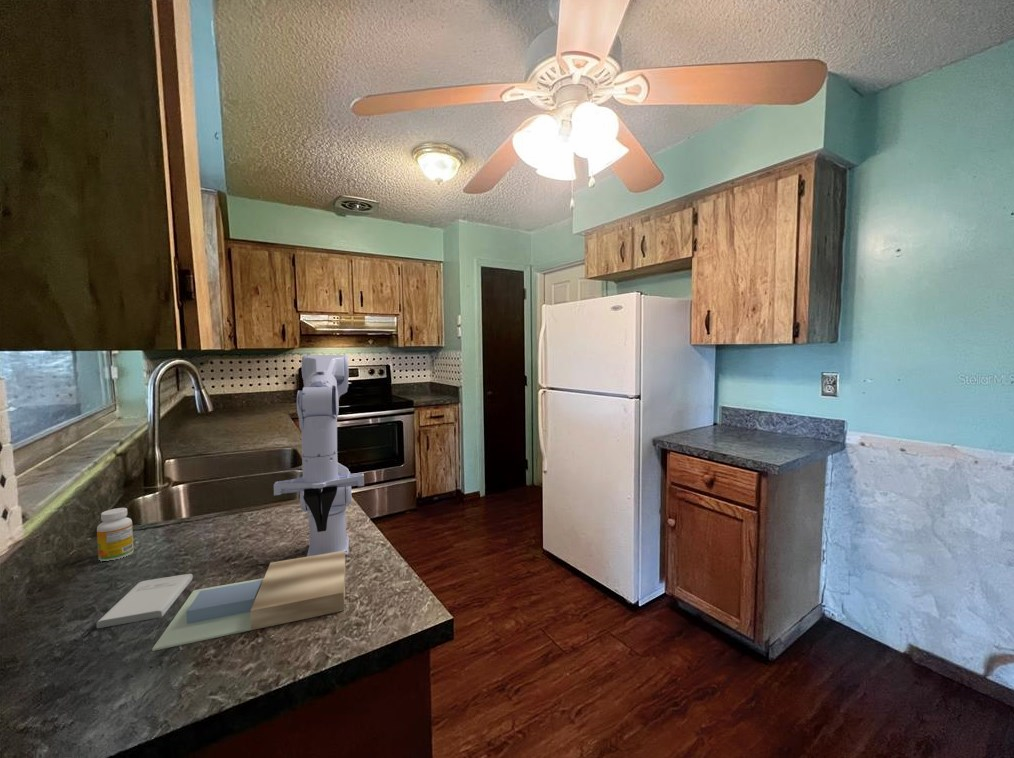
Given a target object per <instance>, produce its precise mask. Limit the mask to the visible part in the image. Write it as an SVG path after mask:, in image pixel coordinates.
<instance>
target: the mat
mask: <svg viewBox="0 0 1014 758" xmlns="http://www.w3.org/2000/svg"><path fill="white" fill-rule="evenodd" d="M263 579H264V577H261V578H258V579H257V578H256V579H251V580H246V581H245V580H244V581H238V582H235V583H228V584H223V585H217V586H210V587H205V588H199V589H193V590H192V591H191V593H190V595H188V598H187V599H185V600H186V601H185V602H184V603H183V605H182V606H181V608H180V609H179V610H178V612H177V613H176V614H175V616H174V617H173V619H172V620H171V621H170V623H169V624H168V626H167V627H166V628H165V630H164V631H163V633H162V635H161V636H160V637H159V639H158V640H157V641H156V643H155V644H154V645H153V647H152V650H151V651H152V652H154V651H158V650H160V651H161V650H164V649H168V648H172V647H178V646H183V645H187V644H192V643H197V642H202V641H207V640H212V639H215V638H221V637H224V636H229V635H234V634H235V635H236V634H238V633H239V634H240V633H244V632H249V631H252V630H251V612H246V613H241V614H236V615H231V616H226V617H221V618H215V619H210V620H205V621H200V622H195V623H190V624H187V610H188V608H189V607H190V605H191V604H192V603H193V601H194V600H195V598H196V597H197V595H198V594H199V592H200V591H204V590H209V589H215V588H221V587H227V586H232V585H238V584H244V583H250V582H256V581H261V580H262V582H263Z"/></svg>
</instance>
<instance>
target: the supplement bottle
mask: <svg viewBox="0 0 1014 758" xmlns="http://www.w3.org/2000/svg"><path fill="white" fill-rule="evenodd" d="M128 514H129V513H128V508H127V507H118V508H113V509H112V508H111V509H108V510H105V511H102V512H101V513H100V521H102V522H100V523H99V524H98V525H97V527H96V541H97V542H96V543H97V556H98V561H99V560H100V561H99V562H102V561H109V560H114V561H116V560H115V559H118V560H121V559H124V558H126V556H127V557H129V556H131V555H132V554H133V553H134V535H133V532H134V531H133V521H132V518H131V517H127V516H128ZM128 555H129V556H128ZM123 557H124V558H123ZM120 558H121V559H120ZM109 562H110V561H109Z"/></svg>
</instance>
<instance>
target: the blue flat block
mask: <svg viewBox="0 0 1014 758" xmlns="http://www.w3.org/2000/svg"><path fill="white" fill-rule="evenodd" d="M261 584H262V580H261V581H256V582H250V583H244V584H238V585H232V586H227V587H221V588H215V589H209V590H204V591H200V592H199V594H198V595H197V597H196V598H195V600H194V601H193V603H192V604H191V605H190V607H189V608H188V610H187V624H190V623H195V622H200V621H205V620H210V619H215V618H221V617H226V616H231V615H236V614H241V613H246V612H251V608H252V606H253V603H254V601H255V599H256V596H257V594H258V591H259V589H260V587H261Z"/></svg>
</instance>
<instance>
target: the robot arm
mask: <svg viewBox="0 0 1014 758" xmlns="http://www.w3.org/2000/svg"><path fill="white" fill-rule="evenodd" d="M349 375H350V374H349V356H348V355H347V354H346V353H343V354H307V353H306V354H304V355H303V356H302V357H301V377H302V380H303V382H302V383H303V387H302V390H297V394H296V411H297V416H298V417H297V418H298V423H299V425H298V427H299V430H300V431H301V436H300V437H301V463H302V465H301V467H302V468H301V469H302V476H301V477H299V478H292V479H285V480H279V481H275V482H274V484H273V496H280V495H282V494H290V493H299V504H300V509H301V510H302V511H303V512H304V513H305V512H306V515H307V516H308V531H309V537H308V538H309V545H308V550H307V553H306V557H308V556H314V555H321V554H327V553H333V552H339V551H345V557H346V556H349V548H350V547H349V546H350V545H349V544H350V543H349V542H350V541H349V540H350V536H349V535H347V515H346V513H347V511H346V510H347V507H350V505H351V504H352V502H353V501H352V500H353V498H352V487H355V486H357V487H364V486H365V477H364V476H365V475H364V473H363V472H362V473H351V471H349V468H348V467H346V466H345V465H343V464H341V463H339V462H338V461H339V460H338V416H339V413H340V412H339V409H340V406H339V405H340V404H339V403H340V402H339V400H340V397H341V396H342V395H345V394H346V393H347V392H348V389H349V378H350V377H349Z"/></svg>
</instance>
